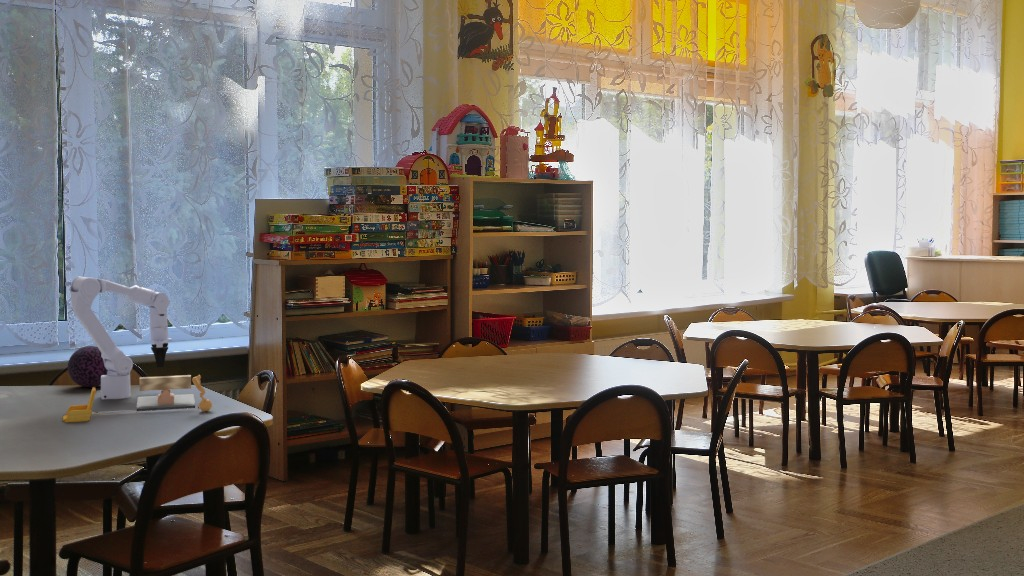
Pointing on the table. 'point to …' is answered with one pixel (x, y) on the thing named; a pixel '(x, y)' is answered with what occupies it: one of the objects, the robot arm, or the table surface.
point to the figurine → (205, 403)
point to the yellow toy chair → (80, 411)
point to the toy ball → (87, 366)
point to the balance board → (155, 399)
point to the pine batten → (165, 382)
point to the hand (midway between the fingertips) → (160, 365)
